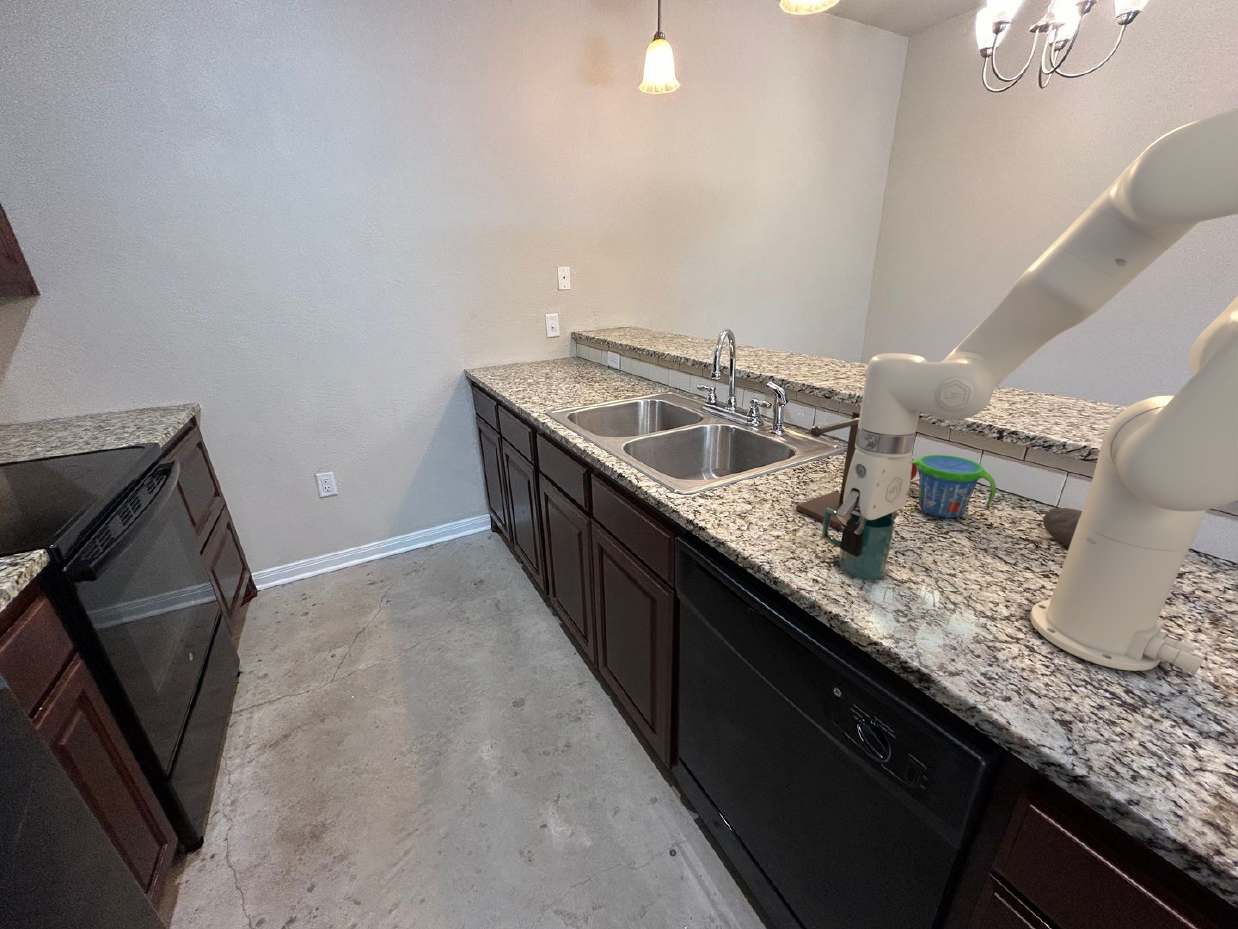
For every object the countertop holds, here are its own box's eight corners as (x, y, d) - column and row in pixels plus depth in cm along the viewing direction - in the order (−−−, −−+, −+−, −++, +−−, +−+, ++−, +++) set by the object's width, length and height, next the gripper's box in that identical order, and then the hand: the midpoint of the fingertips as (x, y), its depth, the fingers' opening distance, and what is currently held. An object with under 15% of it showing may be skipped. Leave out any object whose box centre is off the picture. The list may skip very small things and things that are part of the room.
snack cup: (887, 506, 101) (896, 459, 98) (909, 491, 108) (918, 447, 104) (975, 534, 90) (989, 482, 86) (994, 516, 96) (1008, 467, 93)
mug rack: (878, 513, 98) (896, 416, 91) (817, 538, 90) (832, 432, 83) (834, 496, 106) (847, 405, 99) (775, 517, 98) (785, 419, 91)
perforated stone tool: (1028, 531, 91) (1038, 496, 88) (1054, 529, 91) (1065, 494, 89) (1113, 577, 77) (1129, 538, 74) (1143, 575, 77) (1160, 535, 75)
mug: (893, 570, 80) (904, 520, 77) (867, 584, 77) (877, 532, 73) (832, 541, 89) (839, 495, 86) (807, 552, 86) (813, 505, 82)
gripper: (871, 458, 66) (851, 573, 72) (942, 436, 74) (919, 540, 81) (823, 443, 72) (809, 551, 78) (894, 424, 80) (876, 522, 87)
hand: (865, 545), depth 79 cm, fingers closed on mug, 6 cm apart
